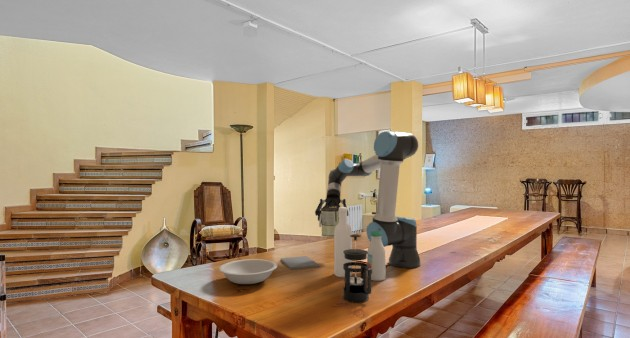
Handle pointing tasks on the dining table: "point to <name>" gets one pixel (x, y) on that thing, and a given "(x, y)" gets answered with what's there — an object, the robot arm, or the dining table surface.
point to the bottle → (341, 243)
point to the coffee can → (329, 220)
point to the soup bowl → (248, 270)
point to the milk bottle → (376, 257)
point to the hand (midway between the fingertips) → (330, 225)
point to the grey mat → (299, 262)
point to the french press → (352, 284)
